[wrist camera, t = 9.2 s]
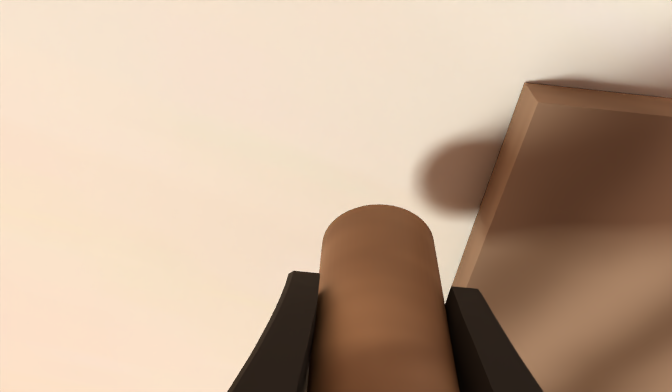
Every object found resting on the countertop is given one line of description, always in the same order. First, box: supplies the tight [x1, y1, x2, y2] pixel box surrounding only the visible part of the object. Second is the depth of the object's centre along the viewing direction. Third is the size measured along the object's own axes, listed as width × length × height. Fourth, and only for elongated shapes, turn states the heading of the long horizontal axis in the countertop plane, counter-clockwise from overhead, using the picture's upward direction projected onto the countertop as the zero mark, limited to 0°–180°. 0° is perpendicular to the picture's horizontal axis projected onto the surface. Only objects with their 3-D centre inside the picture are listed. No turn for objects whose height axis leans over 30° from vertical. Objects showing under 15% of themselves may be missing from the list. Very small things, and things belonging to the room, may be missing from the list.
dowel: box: [307, 205, 460, 392], centre depth 9 cm, size 3×3×8 cm
